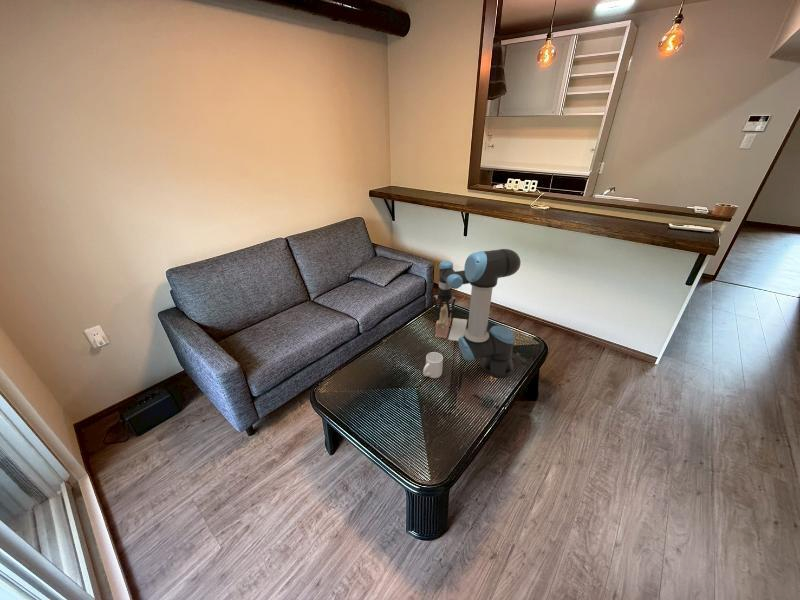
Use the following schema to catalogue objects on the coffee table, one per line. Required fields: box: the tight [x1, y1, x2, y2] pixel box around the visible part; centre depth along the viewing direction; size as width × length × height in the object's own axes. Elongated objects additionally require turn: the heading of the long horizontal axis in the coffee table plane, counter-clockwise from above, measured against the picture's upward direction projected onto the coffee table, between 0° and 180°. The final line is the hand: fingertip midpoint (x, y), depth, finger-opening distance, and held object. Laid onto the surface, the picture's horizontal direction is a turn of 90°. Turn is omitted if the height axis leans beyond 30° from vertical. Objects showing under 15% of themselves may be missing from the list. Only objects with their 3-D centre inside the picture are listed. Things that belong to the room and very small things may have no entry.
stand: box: [434, 306, 453, 339], centre depth 188 cm, size 7×21×9 cm, turn 164°
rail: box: [438, 304, 448, 329], centre depth 186 cm, size 4×22×4 cm, turn 164°
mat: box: [447, 317, 468, 342], centre depth 187 cm, size 9×24×1 cm, turn 164°
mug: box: [422, 351, 444, 379], centre depth 151 cm, size 12×8×10 cm
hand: (443, 321), depth 187 cm, fingers closed on rail, 3 cm apart
